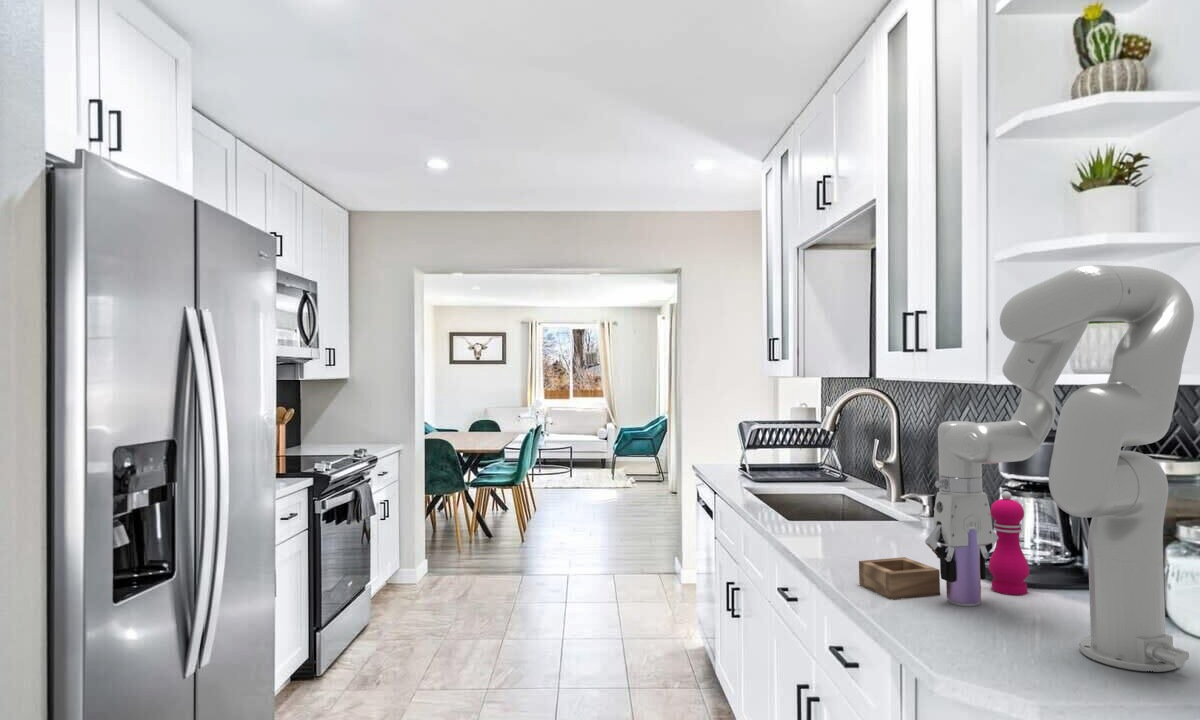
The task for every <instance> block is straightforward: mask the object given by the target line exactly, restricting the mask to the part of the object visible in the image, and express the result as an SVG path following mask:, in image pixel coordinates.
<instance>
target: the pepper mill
mask: <svg viewBox="0 0 1200 720" xmlns="http://www.w3.org/2000/svg"><path fill="white" fill-rule="evenodd" d="M1012 497H1013V496H1012V493H1011V492H1009V491H1003V492H1002V493H1001V499H997V500H995V501H994V502H993V503H992V504H991V506H990V511H991V518H993V520H994V521H995V522H993V531H995V534H996V535H997V536H998V540H997V541H996V543H995V547H994V550H993V552H992V554H991V556H990V557H989V562H988V571H989V573H990V575H992V577H993V579H992V580H991V589H992V590H993V592H996V593H999V594H1003V595H1007V596H1008V595H1009V596H1023V595H1026V594H1027V593H1028V583H1026V582H1025V580H1026V579H1027V578H1028V576H1029V575H1030V566H1029V564H1028V561H1027V559H1026V557H1025V555H1024V552H1023V550H1022V548H1021V545H1020V543H1021V542H1020V533H1021V532H1022V531H1023V529H1022V524H1021V523H1020V522H1021V521H1022V520H1023V519H1024V517H1025V510H1024V507H1023V506H1022V505H1021V503H1020V502H1018V501H1017V500H1014V499H1012Z"/></svg>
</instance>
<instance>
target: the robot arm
mask: <svg viewBox="0 0 1200 720" xmlns="http://www.w3.org/2000/svg"><path fill="white" fill-rule="evenodd" d="M1194 320H1195V311H1194V303H1193V301H1192V299H1191V296H1190V294H1189V293H1188V291H1187V289H1186V288H1185V286H1183V284H1181V283H1180V282H1179V281H1178V280H1177V279H1176V278H1174V277H1173V276H1171V275H1169V274H1167V273H1165V272H1163V271H1159V270H1158V269H1153V268H1148V267H1142V266H1141V267H1140V266H1129V265H1106V264H1105V265H1104V264H1089V265H1087V264H1086V265H1080V266H1077V267H1074V268H1071V269H1069V270H1066V271H1064V272H1062V273H1059V274H1057V275H1055V276H1053V277H1050V278H1049V279H1046V280H1044V281H1041V282H1040V283H1037V284H1035V285H1032V286H1030V287H1028V288H1026V289H1023V290H1022V291H1019V292H1018V293H1016V294H1014V295H1013V296H1012V297H1011V298H1009V300H1007V302H1006V303H1005V305H1004V306H1003V308H1002V310H1001V312H1000V316H999V327H1000V329H1001V331H1002V334H1003V335H1004V336H1005V337H1006V338H1007V339H1009V340H1010V341H1011V342H1012V341H1013V342H1014V344H1013V346H1012V348H1011V349H1010V352H1009V354H1008V356H1007V357H1006V359H1005V360H1004V361H1005V362H1004V363H1003V366H1002V368H1001V369H1002V373H1003V376H1004V377H1005V379H1007V380H1008V381H1009V382H1010V383H1011V384H1013V385H1014V386H1016V387H1018V388H1019V389H1020V390H1021V399H1020V402H1019V404H1018V406H1017V408H1016V410H1015V412H1014V414H1013V416H1012V417H1011V418H1010V420H1006V421H1005V420H1004V421H989V422H975V421H968V420H967V421H966V420H950V421H949V420H948V421H943V422H941V423H940V424H939V425H938V427H937V444H938V445H937V446H938V447H937V449H938V474H939V475H938V480H936V481H935V483H934V485H935V487H936V488H937V489H938V488H939V490H938V492H937V493H936V497H935V503H934V513H933V530H932V531H931V533H930V534H929V535H928V536H927V538H926V539H925V541H924V542H925V544H926V545H927V546H928V548H929V549H930V550H931V551H932V552H933V553H934V554H935V555H936V558H937V559H939V565H940V567H939V568H940V569H939V573H940V578H941V579H940V580H944V581H945V582H946V581H948V582H951V583H952V582H954V581H955V563H954V561H951V559H952V556H953V553H954V550H955V548H959V547H965V546H968V533H969V530H970V529H974V530H976V531H975V532H977V545H979V546H980V579H981V581H982V580H986V577H987V575H986V559H988V558H989V553H990V552H991V551H992V550H993V547H994V545H996V542H997V540H998V536H997V534H996V531H995V530H994V529H993V520H992V516H991V511H990V510H991V506H990V502H989V499H988V496H987V492H984V491H983V466H982V465H991V464H1000V463H1012V462H1023V461H1025V460H1028V459H1030V458H1031V457H1032V456H1034V455H1035V454H1036V452H1038V450H1040V448H1041V447H1042V445H1043V443H1044V442H1045V440H1046V438H1047V437H1048V435H1049V433H1050V432H1051V429H1052V427H1053V425H1054V422H1055V419H1056V407H1057V406H1056V404H1057V403H1056V396H1055V392H1054V387H1055V385H1056V383H1057V381H1058V379H1059V378H1060V376H1061V375H1062V372H1063V370H1064V369H1065V367H1066V366H1067V363H1068V362H1069V360H1070V358H1071V356H1072V354H1073V353H1074V351H1075V349H1076V348H1077V346H1078V344H1079V342H1080V340H1081V338H1082V336H1083V335H1084V334H1085V332H1086V330H1087V328H1088V325H1089V323H1090V322H1124V323H1126V324H1127V325H1128V328H1127V330H1126V332H1125V333H1124V334H1123V336H1122V337H1121V338H1120V341H1119V342H1118V343H1117V346H1116V348H1115V350H1114V353H1113V358H1112V362H1111V363H1112V364H1111V368H1110V374H1109V377H1108V380H1107V382H1106V383H1104V382H1103V383H1092V384H1088V385H1084V386H1082V387H1079V388H1078V389H1076V390H1075V391H1073V392H1072V393H1071V394H1070V395H1069V397H1068V398H1067V399H1066V400H1065V402H1064V404H1063V405H1062V408H1061V410H1060V413H1059V417H1058V421H1057V427H1056V432H1055V437H1054V443H1053V449H1052V453H1051V460H1050V465H1049V470H1048V471H1049V472H1048V488H1049V491H1050V495H1051V497H1052V500H1053V501H1054V503H1055V504H1056V505H1057V506H1058V508H1060V509H1061V510H1062V511H1063V512H1065V513H1066V514H1068V515H1071V516H1073V517H1078V518H1085V519H1086V518H1091V520H1090V525H1089V529H1088V535H1087V536H1088V537H1087V556H1088V557H1087V558H1088V561H1087V562H1088V588H1089V618H1090V619H1089V620H1090V622H1089V623H1090V636H1088V637H1084V638H1082V639H1081V640H1080V641H1079V651H1080V652H1081V653H1082V654H1083V655H1084V656H1086V657H1088V658H1089V659H1092V660H1094V661H1096V662H1098V663H1101V664H1104V665H1108V666H1110V667H1111V666H1112V667H1115V668H1119V669H1123V670H1124V669H1125V670H1131V671H1137V672H1138V671H1139V672H1147V671H1148V672H1149V671H1151V672H1152V671H1153V672H1152V673H1160V672H1163V673H1164V672H1170V671H1171V672H1172V671H1174V670H1176V669H1178V668H1182V667H1184V666H1185V663H1186V661H1188V660H1189V659H1190V653H1189V652H1188V651H1186V650H1183V649H1180V648H1176V647H1174V644H1173V643H1174V640H1173V639H1174V637H1173V635H1170V634H1167V632H1166V609H1165V608H1166V607H1165V606H1166V605H1165V582H1164V581H1165V580H1164V578H1165V577H1164V576H1165V575H1164V540H1163V539H1164V524H1165V523H1164V521H1165V514H1166V509H1167V503H1168V497H1169V483H1168V477H1167V475H1166V473H1165V471H1164V469H1163V467H1161V464H1159V463H1158V461H1156V460H1154V458H1152V457H1151V456H1149V455H1147V454H1144V453H1142V452H1138V451H1133V450H1122V447H1134V446H1143V445H1148V444H1153V443H1157V442H1158V441H1160V440H1161V439H1163V438H1164V437H1165V436H1166V434H1167V433H1168V431H1169V430H1170V426H1171V424H1172V418H1173V415H1174V410H1175V409H1174V408H1175V405H1176V400H1177V395H1178V390H1179V385H1180V380H1181V377H1182V376H1181V375H1182V371H1183V370H1182V368H1183V364H1184V358H1185V356H1186V351H1187V348H1188V344H1189V341H1190V338H1191V334H1192V331H1193V326H1194ZM969 527H975V528H969ZM967 532H968V533H967ZM947 547H948V548H947ZM946 548H947V551H946ZM945 551H946V552H945ZM1151 672H1149V673H1151Z"/></svg>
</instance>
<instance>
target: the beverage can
mask: <svg viewBox="0 0 1200 720" xmlns="http://www.w3.org/2000/svg"><path fill="white" fill-rule="evenodd" d="M969 528H975V527H969ZM975 531H976V530H974V529H970V530H969V533H968V532H967V533H968V546H965V547H959V548H955V550H954V553H953V556H952V559H951V561H954V563H955V581H954V582H952V583H951V582H948V581H946V580H945V582H946V583H945V585H946V586H945V587H946V589H945V590H946V599H947V600H948V602H949V604H953V605H956V606H961V607H977V606H978V605H980V603H981V602H982V585H981V584H982V583H981V581H982V579H980V546H979V545H977V532H975ZM947 548H948V547H947ZM947 548H946V551H947ZM946 551H945V552H946Z"/></svg>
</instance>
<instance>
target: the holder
mask: <svg viewBox="0 0 1200 720" xmlns="http://www.w3.org/2000/svg"><path fill="white" fill-rule="evenodd" d="M858 578H859V579H858V582H859V584H860V585H859V584H858V585H859V586H861V585H862V586H861V587H863V586H864V587H863V588H865V587H866V588H865V589H867V588H868V589H867V590H869V589H871V590H873V591H872V592H874V591H875V592H874V593H876V592H877V593H876V594H878V593H879V595H880V594H881V595H880V596H882V595H883V597H884V596H885V597H884V598H887V599H889V600H891V599H894V600H902V599H901V598H904V599H912V598H913V597H914V598H922V597H923V598H924V597H934V596H941V585H940V583H941V579H940V578H941V574H940V569H939V568H935V567H934V566H930V565H928V564H925V563H922V562H920V561H916V560H913V559H911V558H908V557H905V556H903V557H902V556H901V557H893V558H892V557H891V558H880V559H879V558H877V559H869V560H858ZM871 590H870V591H871Z"/></svg>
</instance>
